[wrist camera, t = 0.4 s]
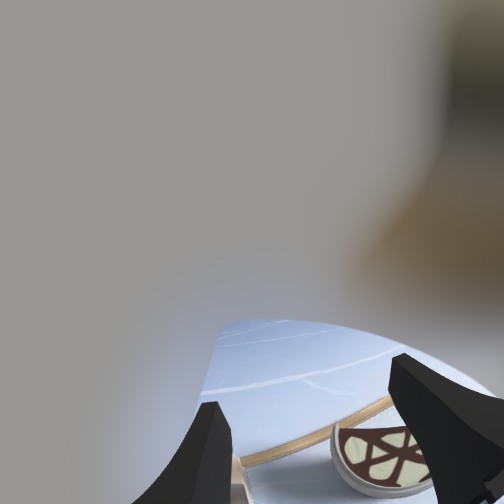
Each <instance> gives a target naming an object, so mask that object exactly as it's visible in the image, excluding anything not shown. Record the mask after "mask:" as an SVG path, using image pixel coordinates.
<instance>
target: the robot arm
mask: <svg viewBox="0 0 504 504" xmlns="http://www.w3.org/2000/svg"><path fill="white" fill-rule="evenodd" d="M388 391H389V394H390V396H391V398H392V401H393V403H394V405H395V407H396V409H397V411H398V413H399V414H400V416H401V418H402V419H403V421H404V423H405V424H406V426H407V428H408V429H409V431H410V433H411V434H412V436H413V438H414V439H415V441H416V443H417V444H418V446H419V448H420V450H421V452H422V455H423V457H424V460H425V462H426V464H427V467H428V470H429V473H430V476H431V478H432V482H433V485H434V488H435V492H436V495H437V500H438V504H504V400H503V399H499V398H495V397H491V396H488V395H484V394H481V393H479V392H476V391H473V390H471V389H468V388H466V387H464V386H461V385H459V384H457V383H455V382H453V381H451V380H449V379H447V378H445V377H444V376H442V375H440V374H438V373H437V372H435V371H433V370H432V369H430V368H428V367H427V366H425V365H423V364H422V363H420V362H419V361H417V360H415V359H414V358H412V357H411V356H409V355H407V354H406V353H403V354H401V355H398V356H396V357H393V358H392V364H391V372H390V380H389V387H388ZM232 451H233V450H232V437H231V429H230V427H229V425H228V423H227V421H226V419H225V416H224V414H223V412H222V410H221V408H220V406H219V404H218V402H217V401H215V402H206V403H202V404H201V406H200V408H199V410H198V412H197V414H196V417H195V419H194V421H193V423H192V425H191V427H190V429H189V431H188V432H187V435H186V436H185V438H184V440H183V442H182V443H181V445H180V447H179V449H178V450H177V452H176V453H175V455H174V456H173V458H172V460H171V461H170V462H169V464H168V465H167V467H166V468H165V469H164V471H163V472H162V473H161V474H160V476H159V477H158V478H157V479H156V480H155V482H154V483H153V484H152V485H151V486H150V487H149V488H148V489H147V490H146V491H145V492H144V494H142V495H141V496H140V497H139V498H138V499H137V500H136V501H134V502H133V503H132V504H231V501H230V491H231V472H232Z"/></svg>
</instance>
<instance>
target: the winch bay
mask: <svg viewBox="0 0 504 504" xmlns="http://www.w3.org/2000/svg"><path fill="white" fill-rule="evenodd" d="M392 405H394V403H393V401H392V398H391V396H390V395H388V396H386V397H385V398H383V399H381V400H380V401H378V402H376V403H374V404H373V405H371V406H369V407H367V408H365V409H363V410H362V411H360V412H358V413H356V414H354V415H352V416H350V417H348V418H346V419H344V420H342V421H340V422H338V425H339V427H340V428H352V427H354V426H356V425H358V424H360V423H362V422H364V421H366V420H368V419H370V418H371V417H373V416H375V415H377V414H379V413H380V412H382V411H384V410H385V409H387V408H389V407H391V406H392ZM334 425H336V423H335V424H333V425H331V426H329V427H327V428H324V429H322V430H320V431H318V432H315V433H313V434H310V435H308V436H306V437H303V438H300V439H298V440H295V441H293V442H290V443H287V444H284V445H282V446H279V447H276V448H273V449H270V450H267V451H264V452H260V453H257V454H254V455H250V456H247V457H243V458H239V457H237V456H236V455H235V454H232V472H231V491H230V501H231V504H255V503H254V499H253V496H252V492H251V489H250V485H249V481H248V477H247V473H246V469H245V468H248V467H251V466H255V465H258V464H262V463H265V462H268V461H271V460H275V459H278V458H281V457H284V456H286V455H289V454H292V453H295V452H298V451H300V450H303V449H305V448H308V447H310V446H313V445H315V444H318V443H320V442H322V441H325V440H327V439H329V438H331V433H332V429H333V426H334Z"/></svg>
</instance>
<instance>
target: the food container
mask: <svg viewBox="0 0 504 504" xmlns="http://www.w3.org/2000/svg"><path fill="white" fill-rule="evenodd" d="M330 448H331V455H332V460H333V463H334V465H335V467H336V470H337V471H338V473H339V474H340V476H341V477H342V478H343V479H344V480H345V481H346V482H347V483H348V484H349V485H350V486H351V487H353V488H354V489H356V490H357V491H359V492H361V493H363V494H366V495H368V496H372V497H377V498H384V499H396V498H403V497H408V496H412V495H415V494H418V493H420V492H422V491H425V490H427V489H429V488H431V487H432V486H434V485H433V482H432V478H431V476H430V473H429V470H428V467H427V464H426V462H425V460H424V457H423V455H422V452H421V450H420V448H419V446H418V444H417V443H416V441H415V439H414V438H413V436H412V434H411V433H410V431H409V429H408V428H407V426H400V427H391V428H376V429H352V428H340V427H339V425H338V423H337V422H336V425H334V426H333V429H332V433H331V439H330Z"/></svg>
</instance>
